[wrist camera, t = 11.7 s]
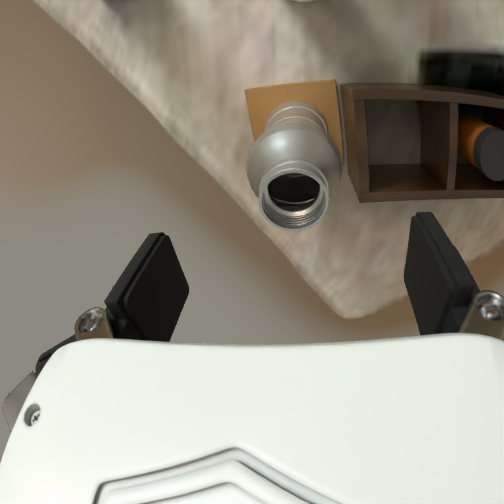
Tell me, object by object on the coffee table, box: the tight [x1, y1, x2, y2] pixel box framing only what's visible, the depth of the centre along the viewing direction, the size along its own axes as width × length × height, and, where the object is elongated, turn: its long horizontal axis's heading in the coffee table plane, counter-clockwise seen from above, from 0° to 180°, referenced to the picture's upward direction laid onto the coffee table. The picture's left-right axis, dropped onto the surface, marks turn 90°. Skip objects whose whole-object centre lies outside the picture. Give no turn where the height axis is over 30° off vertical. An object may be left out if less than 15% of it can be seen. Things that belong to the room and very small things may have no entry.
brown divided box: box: [340, 83, 504, 203], centre depth 26 cm, size 11×20×8 cm, turn 100°
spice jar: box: [457, 111, 504, 181], centre depth 24 cm, size 5×5×10 cm
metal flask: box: [246, 100, 342, 231], centre depth 24 cm, size 6×7×20 cm
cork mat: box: [245, 80, 344, 164], centre depth 32 cm, size 10×10×1 cm
